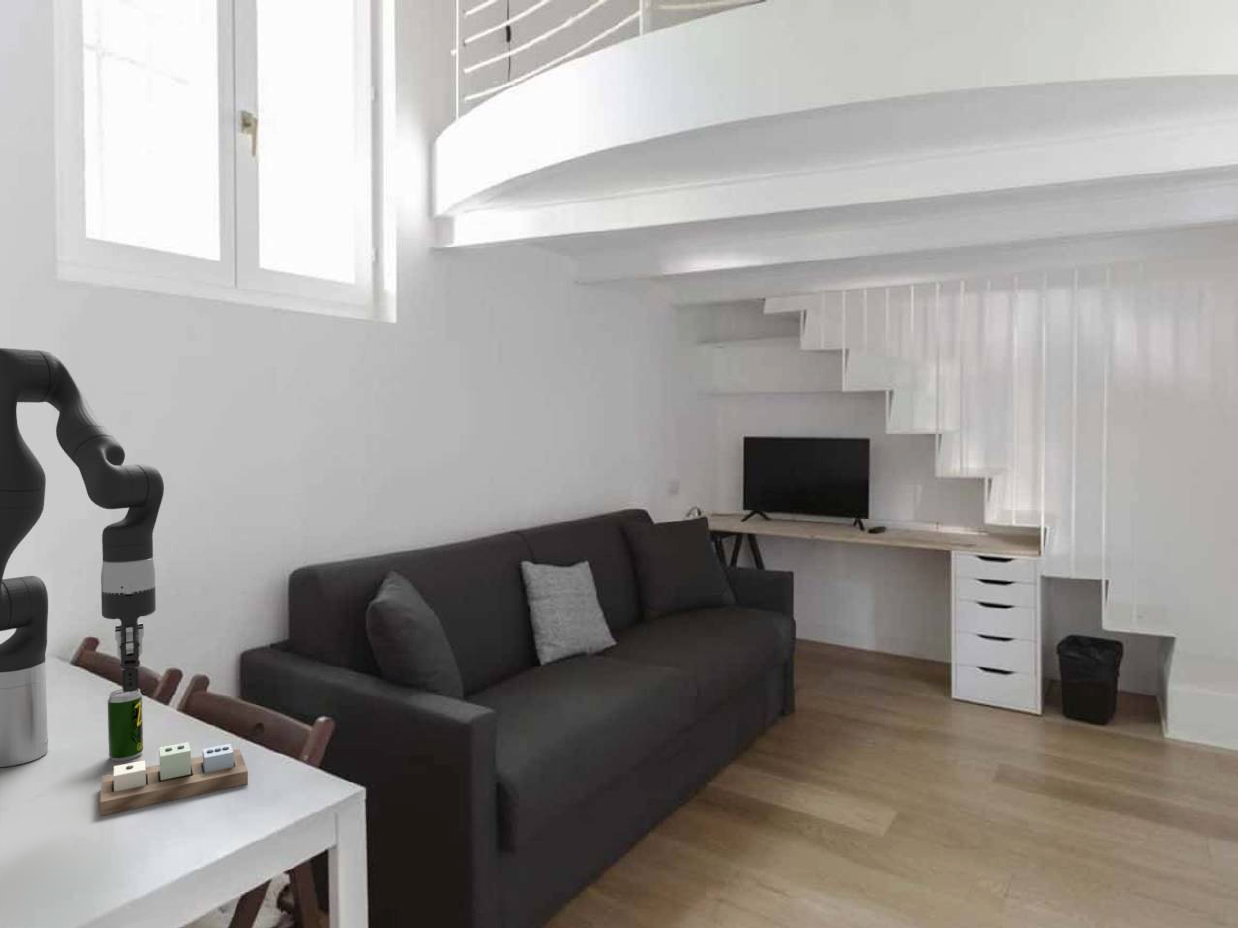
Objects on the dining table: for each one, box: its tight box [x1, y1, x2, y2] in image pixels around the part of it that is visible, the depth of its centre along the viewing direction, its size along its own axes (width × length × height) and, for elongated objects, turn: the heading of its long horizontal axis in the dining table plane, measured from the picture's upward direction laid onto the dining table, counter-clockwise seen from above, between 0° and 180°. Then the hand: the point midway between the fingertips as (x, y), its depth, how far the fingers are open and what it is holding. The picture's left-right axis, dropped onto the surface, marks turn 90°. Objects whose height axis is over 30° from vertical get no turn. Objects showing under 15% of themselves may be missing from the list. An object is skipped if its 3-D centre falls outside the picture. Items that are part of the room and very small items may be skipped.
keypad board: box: [99, 748, 249, 817], centre depth 132 cm, size 21×11×2 cm, turn 123°
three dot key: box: [202, 743, 234, 773], centre depth 135 cm, size 4×4×4 cm
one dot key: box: [113, 760, 146, 792], centre depth 128 cm, size 4×4×4 cm
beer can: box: [107, 688, 144, 762], centre depth 144 cm, size 5×5×12 cm
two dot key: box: [158, 741, 192, 780], centre depth 132 cm, size 4×4×4 cm
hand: (130, 690), depth 128 cm, fingers closed
